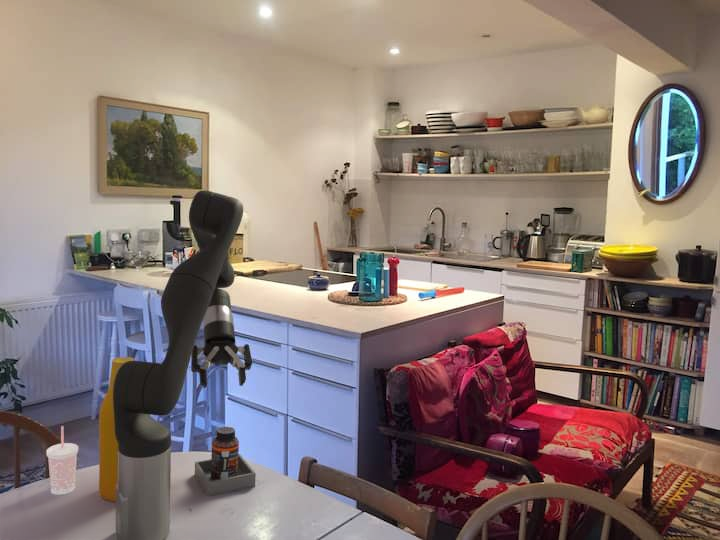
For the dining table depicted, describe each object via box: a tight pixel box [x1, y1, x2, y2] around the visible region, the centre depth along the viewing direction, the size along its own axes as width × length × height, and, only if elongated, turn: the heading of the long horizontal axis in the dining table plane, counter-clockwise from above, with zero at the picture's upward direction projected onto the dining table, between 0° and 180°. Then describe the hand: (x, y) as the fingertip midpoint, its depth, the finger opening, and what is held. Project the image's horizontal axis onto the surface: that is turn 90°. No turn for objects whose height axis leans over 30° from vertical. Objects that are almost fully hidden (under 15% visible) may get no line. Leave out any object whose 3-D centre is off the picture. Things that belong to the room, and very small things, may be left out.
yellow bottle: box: [98, 356, 135, 502], centre depth 125 cm, size 9×9×29 cm
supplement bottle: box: [210, 426, 240, 480], centre depth 134 cm, size 6×6×11 cm
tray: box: [194, 453, 257, 497], centre depth 134 cm, size 11×11×3 cm
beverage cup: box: [46, 425, 79, 495], centre depth 126 cm, size 6×6×14 cm
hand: (223, 385), depth 141 cm, fingers open, 8 cm apart
